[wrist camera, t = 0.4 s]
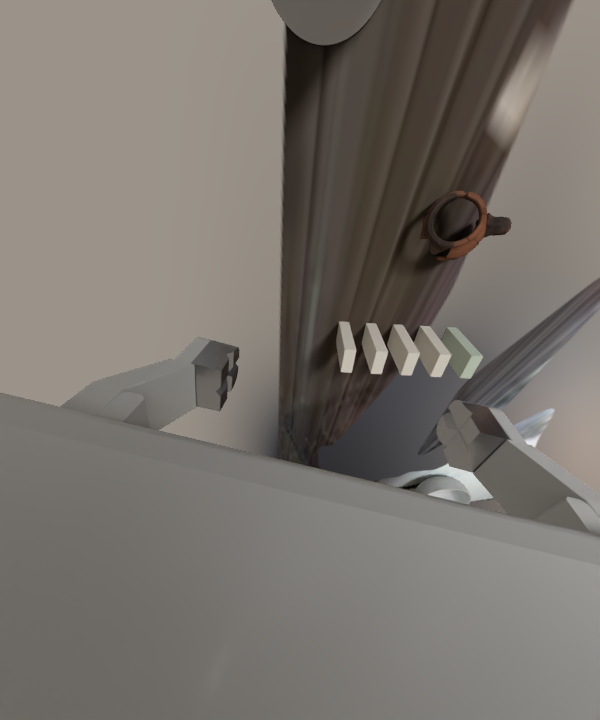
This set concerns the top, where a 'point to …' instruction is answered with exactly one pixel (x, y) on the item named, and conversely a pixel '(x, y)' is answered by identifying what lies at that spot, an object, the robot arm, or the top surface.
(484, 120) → the top surface
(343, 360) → the domino
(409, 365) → the domino
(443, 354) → the domino
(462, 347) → the domino
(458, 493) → the cereal bowl
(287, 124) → the top surface
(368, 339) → the domino
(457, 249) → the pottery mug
